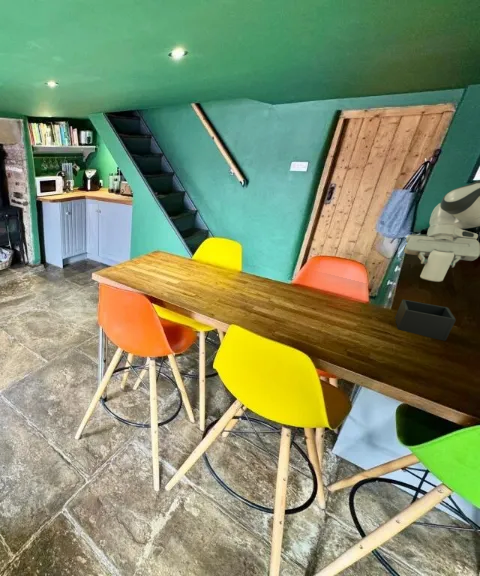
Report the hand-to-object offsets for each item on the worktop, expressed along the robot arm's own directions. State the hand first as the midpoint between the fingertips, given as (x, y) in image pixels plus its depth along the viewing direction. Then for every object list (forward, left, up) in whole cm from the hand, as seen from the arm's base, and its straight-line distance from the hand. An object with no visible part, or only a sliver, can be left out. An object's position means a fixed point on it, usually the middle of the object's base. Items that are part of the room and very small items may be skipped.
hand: (437, 265), depth 119 cm
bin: (-7, +15, -22) cm, 28 cm away
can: (0, -1, -6) cm, 6 cm away
